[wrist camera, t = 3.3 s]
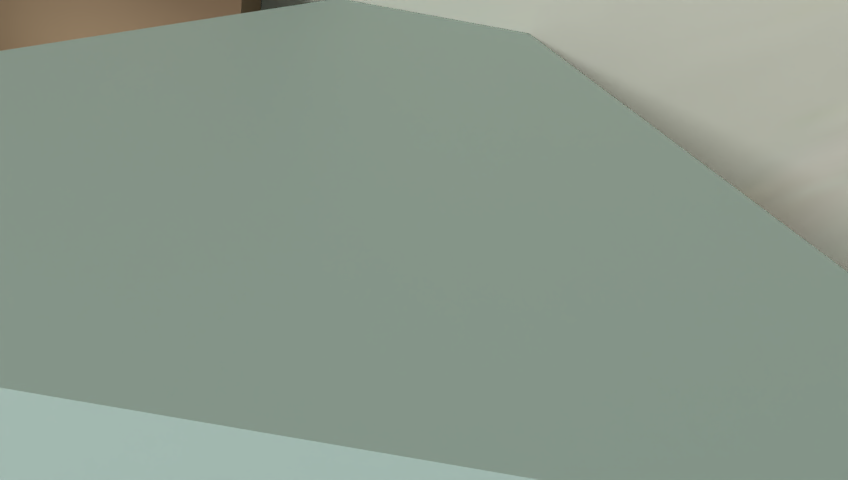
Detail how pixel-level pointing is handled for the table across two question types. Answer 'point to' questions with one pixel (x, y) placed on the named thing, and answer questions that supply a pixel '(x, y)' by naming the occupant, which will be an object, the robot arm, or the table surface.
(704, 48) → the table surface
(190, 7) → the shelf
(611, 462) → the book
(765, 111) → the table surface
